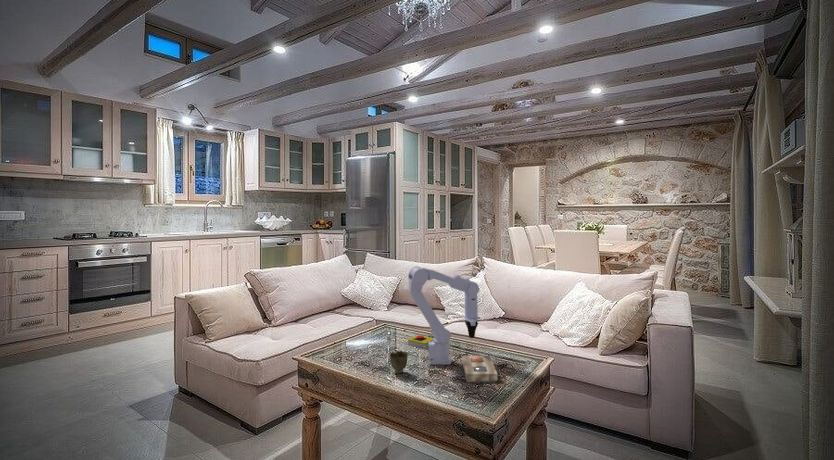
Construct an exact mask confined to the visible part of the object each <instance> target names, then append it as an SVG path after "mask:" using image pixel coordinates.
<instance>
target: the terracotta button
mask: <svg viewBox="0 0 834 460" xmlns="http://www.w3.org/2000/svg"><path fill="white" fill-rule="evenodd" d="M472 356H473V357H472V362H482V357H481V356H482V355H472Z"/></svg>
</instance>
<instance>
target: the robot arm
mask: <svg viewBox="0 0 834 460" xmlns="http://www.w3.org/2000/svg"><path fill="white" fill-rule="evenodd" d="M407 277H408V292H409V294H410V297H412V299H413V301H414V303H415V304H416V306H417V308H418V310H420V312H421V314H422V315H423V317H424V319H425V320H426V322H427V323H428V326H429V328H430V330H431V331H430V332H431V335H432V336H433V338H434V339H433V341H432V342H429V349H428V354H427V358H428V364H429V365H451V364H452V361H451V355H450V340H451V337H452V334H451V332H450V330H448V329H446V328H445V326H444V325H443V324H442V322H441V321H440V319H439V318H438V316H437V315H436V313H435V311H434V310H433V308H432V307H431V305H430V303H429V301H428V300H427V298H426V297H425V295H424V293H423V291H422V290H423V287H424V286H425V284H426V283H427V281H433V280H436V281H440V282H443V283H446V284H448V285H449V287H450V288H452V289H455V290H457V291H460V292H464V320H465V321H464V324H465V325H466V328H467V332H468V337H469V338H470V339H474V338H475V336H476V330H477V328H478V325H479V322H478V320H481V317H480V316H478V315H479V314H478V309H479V308H478V293H479V292H480V288H479V284H478V283H477V282H475V281H472V280H470V279H469V278H464V277H461V275H460V274H455V275H454V274H453V275H451V276H449V275H446V274H444V273H441V272H439V271H437V270H433V269H430V268H428V267H427V268H426V267H420V266H418V265H416V266H413V267H411V268H410V270H409V273H408V275H407Z"/></svg>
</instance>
